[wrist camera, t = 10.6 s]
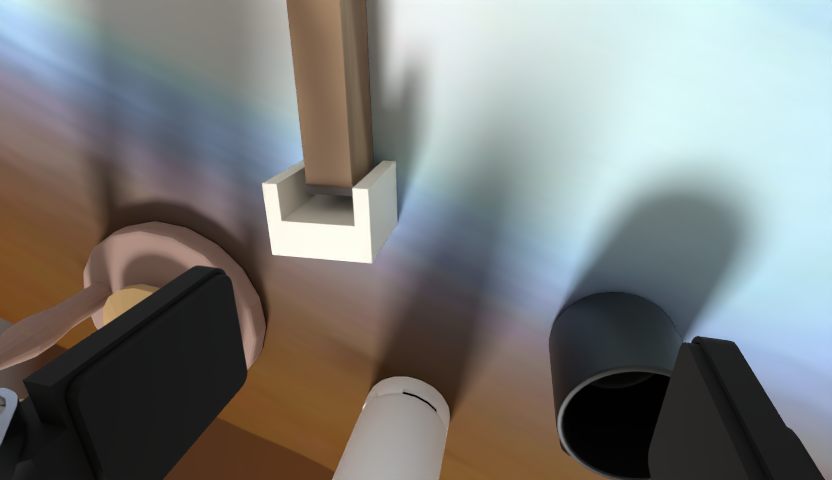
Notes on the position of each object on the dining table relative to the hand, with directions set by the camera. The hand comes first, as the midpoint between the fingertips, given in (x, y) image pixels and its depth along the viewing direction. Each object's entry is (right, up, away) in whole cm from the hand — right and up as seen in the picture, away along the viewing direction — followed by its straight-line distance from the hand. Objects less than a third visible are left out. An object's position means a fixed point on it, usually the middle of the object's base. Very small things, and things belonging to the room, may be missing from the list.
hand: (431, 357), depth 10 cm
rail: (-5, +15, +22) cm, 27 cm away
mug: (+15, -7, +28) cm, 32 cm away
